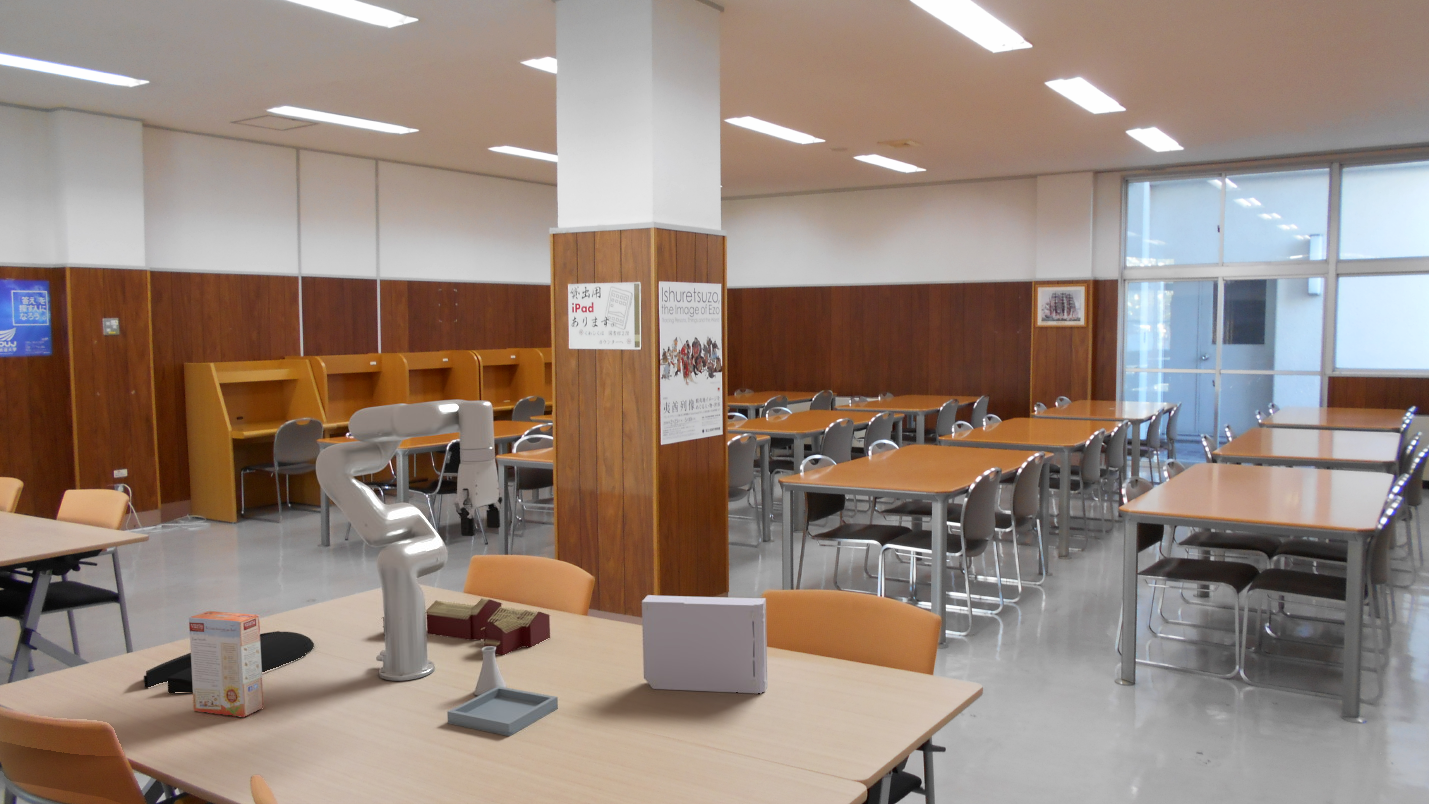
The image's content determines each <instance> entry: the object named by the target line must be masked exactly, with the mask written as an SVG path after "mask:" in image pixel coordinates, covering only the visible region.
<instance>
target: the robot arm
mask: <svg viewBox="0 0 1429 804" xmlns="http://www.w3.org/2000/svg"><path fill="white" fill-rule="evenodd" d="M347 426H348V430H349V431H348V432H349V433H350V435H351V436H352V437H353V438H354V439H355V440H354V441H347V442H340V443H335V444H333V445H329V446H327V447H325V448H324V449H322V450H321V451H320V453H318V456H317V457H316V461H315V474H316V478H317V482H318V484H319V486H320V488H321V490H323V492H324V493H325V494H326V496H327V497H328V498H329V499H330V500H331V501H332V502H333V503H334V504H335V505H336V506H337V507H338V508H339V509H340V510H341V512H342V513H343V515H344V517H345V518H346V519H347V520H348V522H349V524H350V525H351V527H353V529H354V530H355V532H356V533H357V534H358V535H359V537H360V538H361V540H363V542H364V543H365V544H367V545H368V546H369V547H373V548H381V547H383V548H381V550H380V552H379V553H378V555H377V558H376V570H377V572H378V577H379V581H380V584H381V593H382V609H383V617H384V627H383V631H384V630H385V636H384V648H385V649H382V650H381V651H379V654H378V655H376V658H375V659H376V661H378V662H382V667H381V668H380V669H379V671H378V674H379V677H380V678H381V679H383V680H386V681H393V682H394V681H395V682H397V681H398V682H400V681H401V682H402V681H410V680H417V679H421V678H423V677H426V676H428V675H430V674H432V673H433V672H434V671H435V667H436V665H435V663H434V662H433V661H431V660H429V659H428V641H427V635H428V634H427V614H426V610H427V609H426V598H425V594H424V593H425V592H424V590H423V589H422V587H421V585H420V584H419V582H418V578H421V577H424V576H427V575H431V574H434V573H437V572H438V571H440V570H442V569H443V568H444V567H445V565H446V564H447V562H448V557H449V556H448V549H447V546H446V543H445V542H444V540H443V538H442V537H441V536H440V535H439V533H438V532H437V530H436V529H435V528H434V527H433V526H432V524H431V523H430V521H429V520H428V519H427V518H426V516H425V515H424V514H423V513H422V511H421V510H420V508H418V507H417V506H415V505H413V504H411V503H409V502H396V503H392V504H385V503H384V502H383V501H382V500H380V498H379V497H378V496H377V495H376V493H375V491H374V490H372V488H370V487H369V486H368V485H367V484H365V483H363V482H362V481H359V479H356V478H355V477H358V476H363V475H370V474H375V473H378V472H380V471H382V470H384V469H385V468H386V467H387V465H388V464H389V462H390V461H391V460H392V458H393V457H394V456H395V454H396V451H398V449H399V448H400V445H402V442H403V441H404V440H409V439H411V438H420V437H431V436H439V435H445V434H453V433H454V434H455V433H458V435H459V436H458V437H459V448H460V449H459V452H460V453H459V457H460V463H459V464H458V465H459V466H458V470H457V478H456V479H457V481H456V482H457V483H456V485H457V487H456V489H457V490H456V498H455V499H454V501H453V505H454V508H455V509H456V513H457V514H458V518H459V519H460V530H461V531H460V532H461V533H460V534H461V536H463V537H474V536H475V535H476V531H475V530H476V527H475V525H476V523H475V517H473V515H474V513H475V511H476V509H478V508H483V507H486V508H487V509H486V527H487V528H489V529H490V528H491V529H499V528H500V527H501V515H500V513H501V509H502V506H501V504H502V503H503V495H504V491H505V490H504V488H502V487H501V486H500V485H499V477H498V467H497V463H496V453H495V452H496V451H495V448H496V447H495V431H494V428H495V427H494V409H493V404H492V403H491V402H490V401H489V400H465V399H444V400H433V401H426V402H425V401H423V402H417V403H416V402H415V403H410V404H408V403H403V402H402V403H396V404H395V403H393V404H387V405H379V406H371V407H366V408H365V407H364V408H362V409H358V410H357V411H355V412H354V413H353V414H352V415H351V417H350V419H349V420H348V425H347Z"/></svg>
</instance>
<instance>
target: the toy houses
mask: <svg viewBox="0 0 1429 804" xmlns="http://www.w3.org/2000/svg"><path fill="white" fill-rule="evenodd" d="M502 605H503V603H502V602H500V601H497V600H493V599H488V598H480V599H479V601H478V602H477V603H476V604H468V603H467V604H466V603H460V602H458V603H457V602H454V601H453V602H452V601H451V602H450V601H442V600H437V599H436V600H435V601H434V602H433V603H432V604H431V605H430V606H429V607H428V608H427V609H426V633H428V634H427V635H433V634H435V635H434V636H440V635H442V636H441V637H447V636H448V637H447V638H454V639H462V640H467V639H469V641H472V640H474V639H476V640H475V641H482V640H483V643H482V644H483V648H484V647H486V646H494V647H496V650H495V655H496V654H498V655H497V656H502V655H504V656H505V654H506V655H508V654H510V653H512V652H514V651H516V650H519V649H520V647H521V648H523V647H522V646H526V647H525V648H530V647H532V646H534V647H536V646H537V645H536V644H538V645H540V644H541V643H540V642H542V641H544V640H546V639H548V638H550V639H551V626H550V625H551V624H550V622H551V621H550V617H551V616H552V615H550V614H548V613H545V612H542V611H534V610H528V609H523V608H521V609H519V608H512V607H511V608H510V607H503V606H502ZM381 619H382V620H383V621H382V622H383V626H382V628H384V616H382V617H381ZM384 635H385V630H384V629H383V636H384ZM481 639H482V640H481ZM548 640H549V639H548ZM546 641H547V640H546ZM544 642H545V641H544ZM539 643H540V644H539ZM542 643H543V642H542ZM535 645H536V646H535ZM527 646H528V647H527ZM518 648H519V649H518ZM532 648H533V647H532ZM511 651H512V652H511ZM509 652H510V653H509Z"/></svg>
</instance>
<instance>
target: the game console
mask: <svg viewBox="0 0 1429 804" xmlns="http://www.w3.org/2000/svg"><path fill="white" fill-rule="evenodd" d="M641 617H642V619H641V620H642V622H641V624H642V625H641V627H642V660H643V662H642V664H643V666H642V667H643V679H644V680H645V681H646V682H647V683H648V685H650V687H651V688H652V689H653V690H674V691H692V692H693V691H695V692H717V693H736V692H738V693H740V694H741V693H742V694H758V693H760V694H763V693H762V692H764V693H765V692H766V690H767V688H766V687H768V651H767V650H768V649H767V647H768V645H767V638H768V637H767V598H766V597H763V598H761V597H758V598H757V597H755V598H754V597H752V598H751V597H727V596H726V597H722V596H721V597H718V596H717V597H716V596H688V595H687V596H683V595H680V596H679V595H651V594H647V595H646V596H645V598H644V599H642V601H641Z"/></svg>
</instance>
